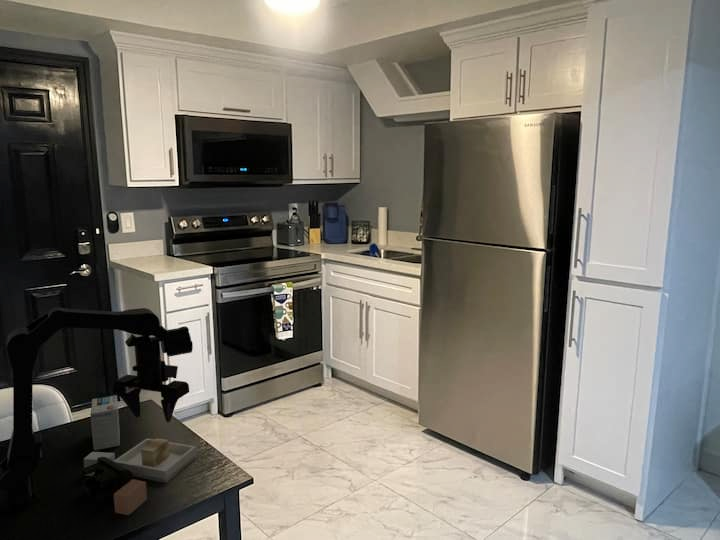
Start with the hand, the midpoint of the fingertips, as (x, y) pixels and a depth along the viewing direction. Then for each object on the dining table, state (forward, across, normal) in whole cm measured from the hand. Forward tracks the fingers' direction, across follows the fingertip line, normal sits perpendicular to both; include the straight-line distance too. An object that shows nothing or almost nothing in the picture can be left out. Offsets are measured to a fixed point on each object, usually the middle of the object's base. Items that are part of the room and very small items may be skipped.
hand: (153, 419), depth 132 cm
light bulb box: (+13, +22, -7) cm, 26 cm away
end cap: (+13, +3, +13) cm, 18 cm away
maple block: (+11, 0, 0) cm, 11 cm away
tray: (+12, 0, 0) cm, 12 cm away
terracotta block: (+12, -6, +16) cm, 21 cm away
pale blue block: (+12, +11, +7) cm, 18 cm away
